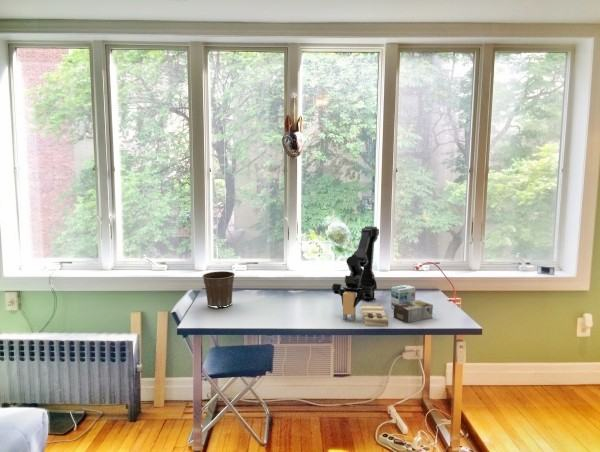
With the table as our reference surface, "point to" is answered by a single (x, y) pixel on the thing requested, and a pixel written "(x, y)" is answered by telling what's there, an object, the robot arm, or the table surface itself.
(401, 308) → the coffee box
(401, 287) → the light bulb box
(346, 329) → the table surface
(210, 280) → the plant pot
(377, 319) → the beige flat slab
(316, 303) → the table surface
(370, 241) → the robot arm
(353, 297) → the tan tall block
